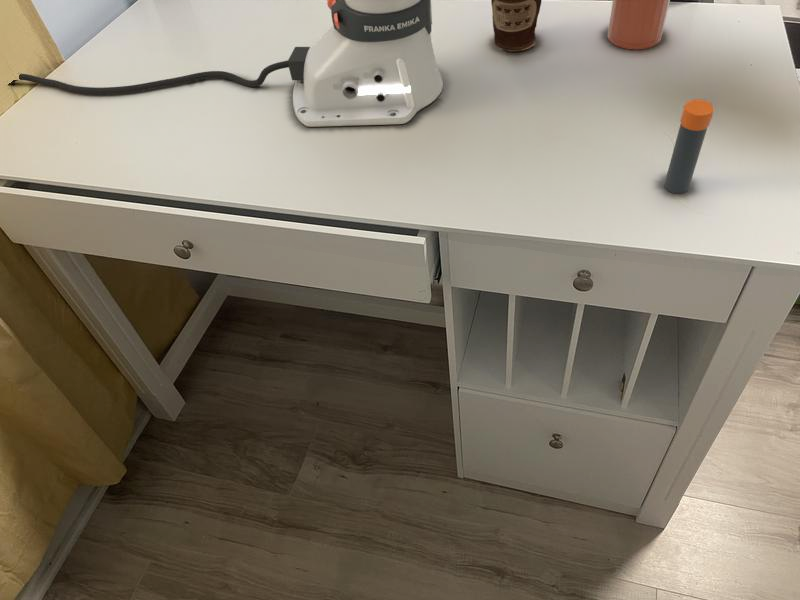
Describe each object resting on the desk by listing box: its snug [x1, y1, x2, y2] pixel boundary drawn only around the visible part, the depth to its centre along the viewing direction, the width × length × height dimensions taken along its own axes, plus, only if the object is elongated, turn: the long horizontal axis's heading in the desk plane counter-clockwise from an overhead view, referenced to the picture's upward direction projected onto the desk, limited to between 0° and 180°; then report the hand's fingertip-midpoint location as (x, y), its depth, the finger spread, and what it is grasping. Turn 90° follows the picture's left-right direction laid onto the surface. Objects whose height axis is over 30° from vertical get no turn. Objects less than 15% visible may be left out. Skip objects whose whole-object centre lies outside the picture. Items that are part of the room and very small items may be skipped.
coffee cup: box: [490, 0, 542, 52], centre depth 100 cm, size 9×8×13 cm
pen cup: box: [607, 0, 671, 50], centre depth 99 cm, size 8×8×10 cm
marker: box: [663, 99, 715, 195], centre depth 76 cm, size 3×3×11 cm
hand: (757, 0), depth 73 cm, fingers open, 8 cm apart
